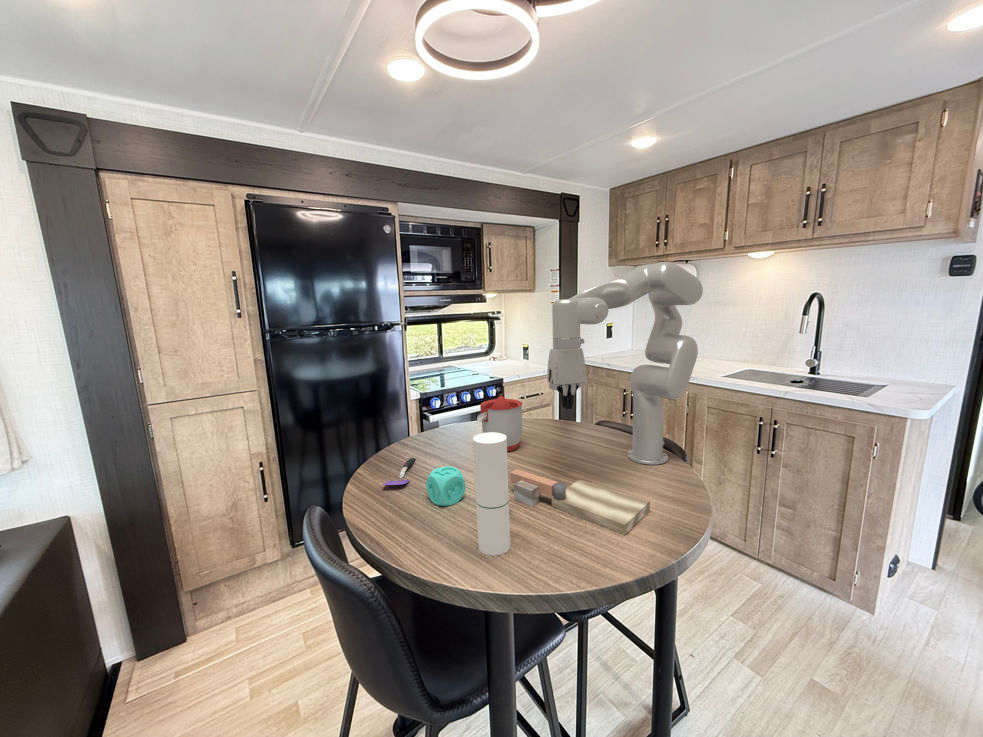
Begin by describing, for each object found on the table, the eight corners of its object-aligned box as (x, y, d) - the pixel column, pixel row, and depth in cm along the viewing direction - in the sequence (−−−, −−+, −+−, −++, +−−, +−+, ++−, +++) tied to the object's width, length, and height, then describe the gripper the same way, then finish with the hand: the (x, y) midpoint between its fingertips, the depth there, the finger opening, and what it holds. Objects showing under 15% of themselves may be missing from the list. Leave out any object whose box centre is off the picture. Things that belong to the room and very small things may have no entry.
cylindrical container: (509, 535, 90) (505, 431, 86) (511, 554, 83) (507, 442, 79) (478, 537, 90) (473, 433, 86) (478, 556, 83) (472, 444, 79)
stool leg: (568, 495, 102) (568, 485, 101) (561, 500, 100) (561, 489, 99) (517, 478, 113) (516, 468, 113) (510, 482, 111) (509, 472, 110)
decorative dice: (426, 499, 109) (424, 472, 108) (450, 489, 114) (448, 463, 113) (442, 509, 103) (440, 481, 102) (466, 499, 108) (465, 472, 107)
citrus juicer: (471, 445, 150) (469, 394, 147) (511, 437, 157) (509, 389, 154) (488, 459, 136) (486, 403, 133) (531, 449, 143) (530, 396, 140)
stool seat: (551, 478, 119) (551, 464, 118) (649, 510, 98) (649, 493, 98) (514, 499, 107) (514, 484, 106) (618, 541, 86) (618, 522, 85)
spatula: (404, 460, 139) (403, 454, 138) (423, 460, 138) (422, 453, 138) (381, 492, 115) (381, 484, 115) (404, 492, 115) (403, 484, 114)
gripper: (584, 341, 114) (584, 402, 117) (536, 344, 110) (537, 407, 113) (597, 343, 107) (597, 408, 110) (547, 347, 103) (548, 414, 106)
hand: (567, 407), depth 111 cm, fingers closed
